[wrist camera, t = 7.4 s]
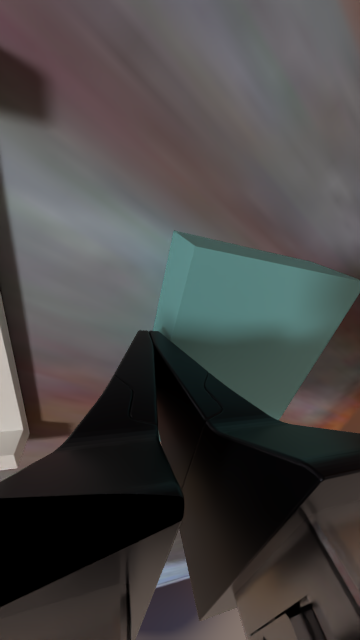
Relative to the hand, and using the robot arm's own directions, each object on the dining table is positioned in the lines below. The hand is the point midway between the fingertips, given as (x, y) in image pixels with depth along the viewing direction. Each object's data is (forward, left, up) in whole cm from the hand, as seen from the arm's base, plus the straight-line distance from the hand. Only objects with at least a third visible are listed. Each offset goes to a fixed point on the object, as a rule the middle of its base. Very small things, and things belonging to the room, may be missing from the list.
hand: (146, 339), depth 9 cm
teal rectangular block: (-1, -5, -3) cm, 6 cm away
